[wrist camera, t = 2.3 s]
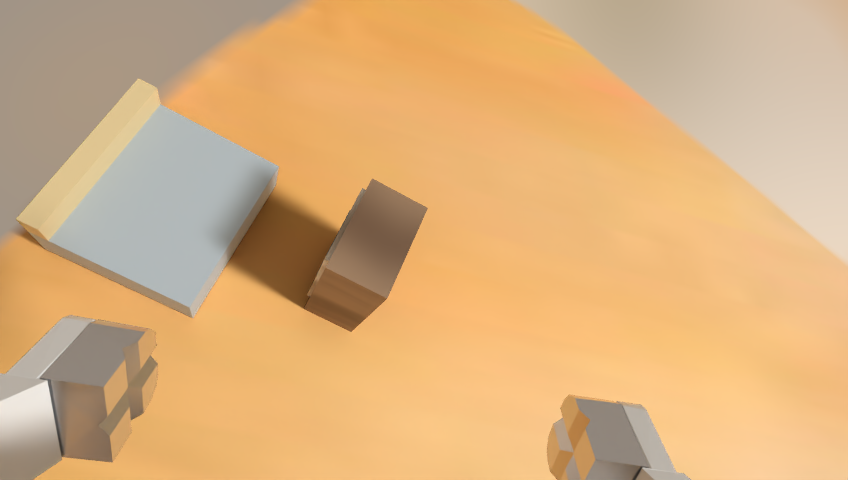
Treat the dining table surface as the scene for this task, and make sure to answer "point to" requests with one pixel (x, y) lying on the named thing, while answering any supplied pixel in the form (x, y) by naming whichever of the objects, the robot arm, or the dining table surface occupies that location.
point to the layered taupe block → (365, 256)
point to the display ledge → (152, 201)
